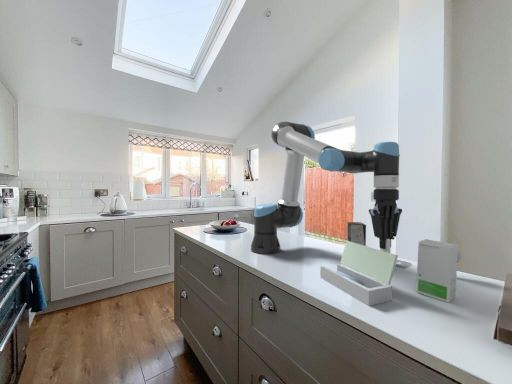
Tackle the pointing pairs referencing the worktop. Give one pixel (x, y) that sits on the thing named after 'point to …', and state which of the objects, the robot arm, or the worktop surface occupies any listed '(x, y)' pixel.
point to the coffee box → (356, 232)
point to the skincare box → (437, 269)
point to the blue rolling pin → (351, 278)
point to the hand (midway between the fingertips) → (385, 257)
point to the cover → (369, 261)
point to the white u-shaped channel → (358, 285)
